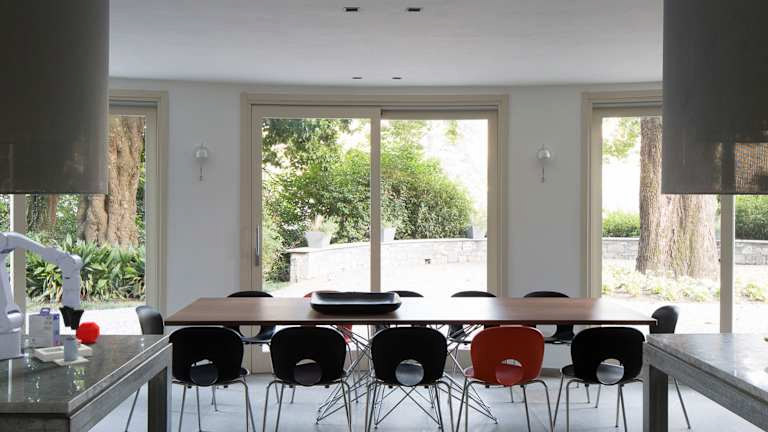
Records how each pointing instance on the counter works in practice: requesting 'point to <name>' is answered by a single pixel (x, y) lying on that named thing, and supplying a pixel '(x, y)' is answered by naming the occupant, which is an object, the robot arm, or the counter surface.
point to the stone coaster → (62, 362)
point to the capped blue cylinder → (70, 348)
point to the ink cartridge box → (44, 329)
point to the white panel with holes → (59, 353)
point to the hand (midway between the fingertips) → (71, 328)
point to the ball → (88, 332)
